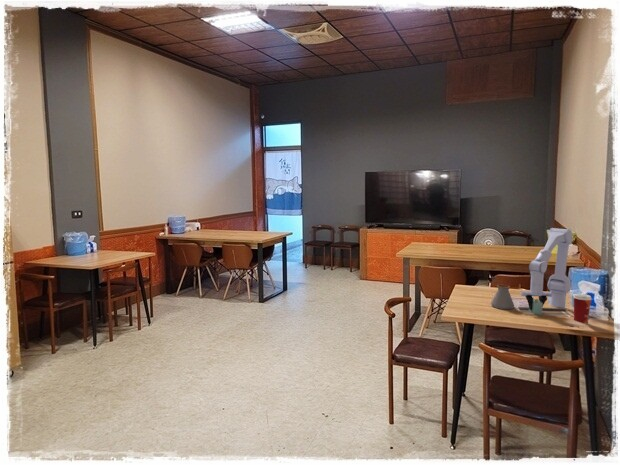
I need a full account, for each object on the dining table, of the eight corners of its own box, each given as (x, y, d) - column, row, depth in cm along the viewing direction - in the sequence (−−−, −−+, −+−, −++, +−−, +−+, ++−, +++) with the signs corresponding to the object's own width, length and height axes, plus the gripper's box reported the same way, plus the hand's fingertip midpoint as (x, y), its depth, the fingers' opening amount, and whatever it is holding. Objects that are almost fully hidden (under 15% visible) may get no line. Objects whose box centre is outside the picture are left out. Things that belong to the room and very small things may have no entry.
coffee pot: (517, 312, 226) (519, 284, 224) (495, 312, 227) (497, 284, 225) (501, 301, 247) (502, 276, 246) (481, 301, 248) (482, 276, 246)
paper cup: (591, 326, 204) (593, 298, 202) (573, 324, 206) (575, 296, 205) (587, 321, 211) (589, 294, 209) (569, 320, 214) (571, 292, 212)
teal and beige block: (528, 310, 225) (529, 297, 224) (536, 310, 225) (537, 297, 224) (533, 314, 218) (534, 301, 218) (541, 314, 218) (542, 301, 217)
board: (518, 311, 228) (518, 306, 227) (564, 313, 225) (564, 308, 224) (525, 318, 217) (526, 312, 216) (574, 320, 214) (574, 314, 213)
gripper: (524, 285, 217) (523, 311, 218) (555, 286, 215) (553, 312, 216) (519, 282, 224) (518, 307, 225) (549, 283, 222) (547, 308, 223)
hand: (535, 309), depth 221 cm, fingers closed on teal and beige block, 4 cm apart
